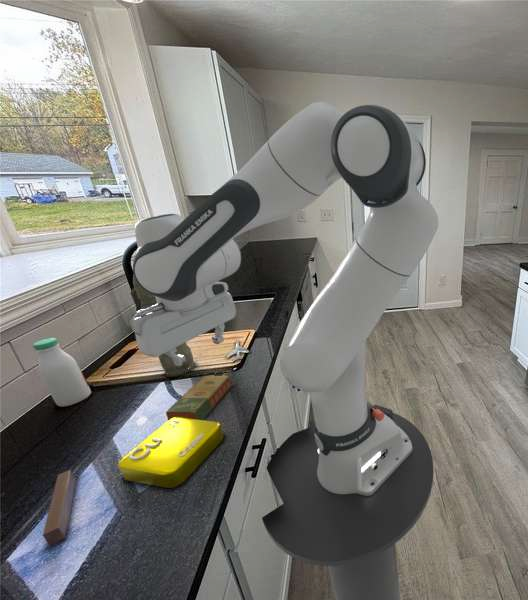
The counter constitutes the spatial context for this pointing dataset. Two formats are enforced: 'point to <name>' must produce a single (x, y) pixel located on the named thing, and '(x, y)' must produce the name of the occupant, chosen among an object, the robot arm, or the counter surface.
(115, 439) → the counter surface
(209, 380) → the carton
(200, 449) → the element tile
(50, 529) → the back rail
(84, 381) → the milk bottle
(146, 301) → the thermos
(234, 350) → the toy airplane
